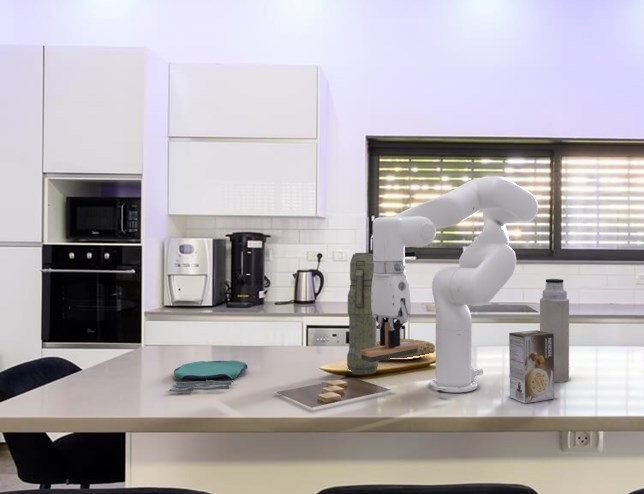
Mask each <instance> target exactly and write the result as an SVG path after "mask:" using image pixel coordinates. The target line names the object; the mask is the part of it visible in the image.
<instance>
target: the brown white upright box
mask: <svg viewBox="0 0 644 494" xmlns="http://www.w3.org/2000/svg"><path fill="white" fill-rule="evenodd" d="M508 334H509V335H508V338H509V339H508V340H509V341H508V343H509V344H508V347H509V351H508V352H509V353H508V354H509V355H508V356H509V357H508V358H509V398H511V399H513V400H516V401H518V402H521V403H523V404H530V403H535V402H542V401H547V400H553V399H555V382H554V334H553V333H548V332H543V331H540V330H527V331H514V332H508Z"/></svg>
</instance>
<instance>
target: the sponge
mask: <svg viewBox="0 0 644 494" xmlns="http://www.w3.org/2000/svg"><path fill="white" fill-rule="evenodd" d="M402 342H411V343H416V344H419V348H418V353H415V354H410V355H405V356H400V357H395V358H407V357H413V356H420V355H425V354H429V353H432V354H434V353H436V345H435V344H434V343H432V342H430V341H426V340H421V339H420V340H419V339H413V338H404V337H403V338H400V343H402ZM380 346H381V345H380V340H379V341H376V347H380ZM384 361H409V360H408V359H385V360H384Z"/></svg>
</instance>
